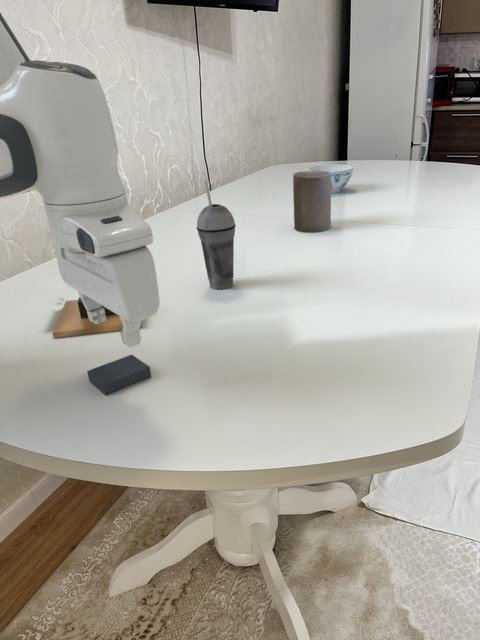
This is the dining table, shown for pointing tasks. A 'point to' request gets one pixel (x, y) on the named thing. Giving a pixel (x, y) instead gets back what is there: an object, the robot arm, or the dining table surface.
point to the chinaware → (336, 175)
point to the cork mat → (82, 322)
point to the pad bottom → (84, 312)
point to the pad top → (119, 374)
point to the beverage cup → (217, 243)
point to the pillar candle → (312, 201)
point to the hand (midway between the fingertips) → (114, 332)
